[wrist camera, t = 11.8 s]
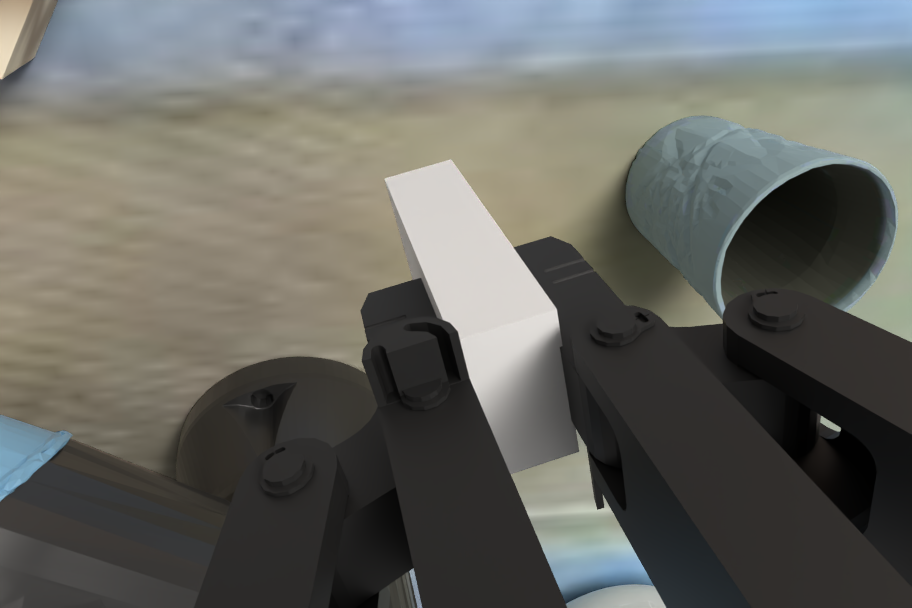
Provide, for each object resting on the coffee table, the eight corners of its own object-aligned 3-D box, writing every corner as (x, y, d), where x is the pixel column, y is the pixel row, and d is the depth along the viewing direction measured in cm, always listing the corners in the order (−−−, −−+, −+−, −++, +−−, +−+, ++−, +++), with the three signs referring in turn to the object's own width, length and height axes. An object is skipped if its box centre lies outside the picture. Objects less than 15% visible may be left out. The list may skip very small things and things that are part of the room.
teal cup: (589, 231, 45) (681, 326, 35) (656, 77, 41) (783, 134, 31) (713, 261, 49) (830, 356, 39) (787, 122, 45) (939, 187, 35)
